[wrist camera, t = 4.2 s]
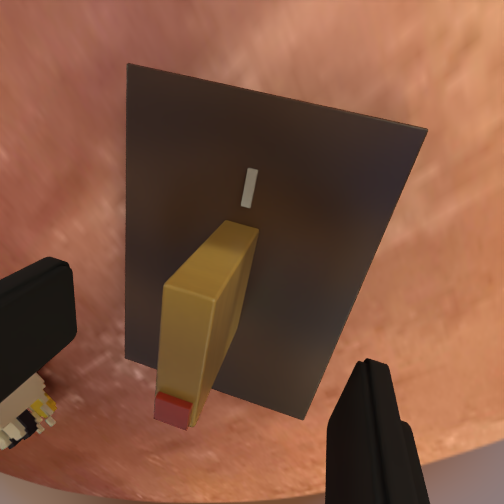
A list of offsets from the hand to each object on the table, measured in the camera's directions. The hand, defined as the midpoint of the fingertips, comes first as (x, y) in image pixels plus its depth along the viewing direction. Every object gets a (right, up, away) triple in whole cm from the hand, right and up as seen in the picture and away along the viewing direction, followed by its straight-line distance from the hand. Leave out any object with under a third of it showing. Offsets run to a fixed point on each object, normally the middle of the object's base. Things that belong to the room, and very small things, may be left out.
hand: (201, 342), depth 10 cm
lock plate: (+1, +3, +5) cm, 6 cm away
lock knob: (+1, +2, +3) cm, 4 cm away
